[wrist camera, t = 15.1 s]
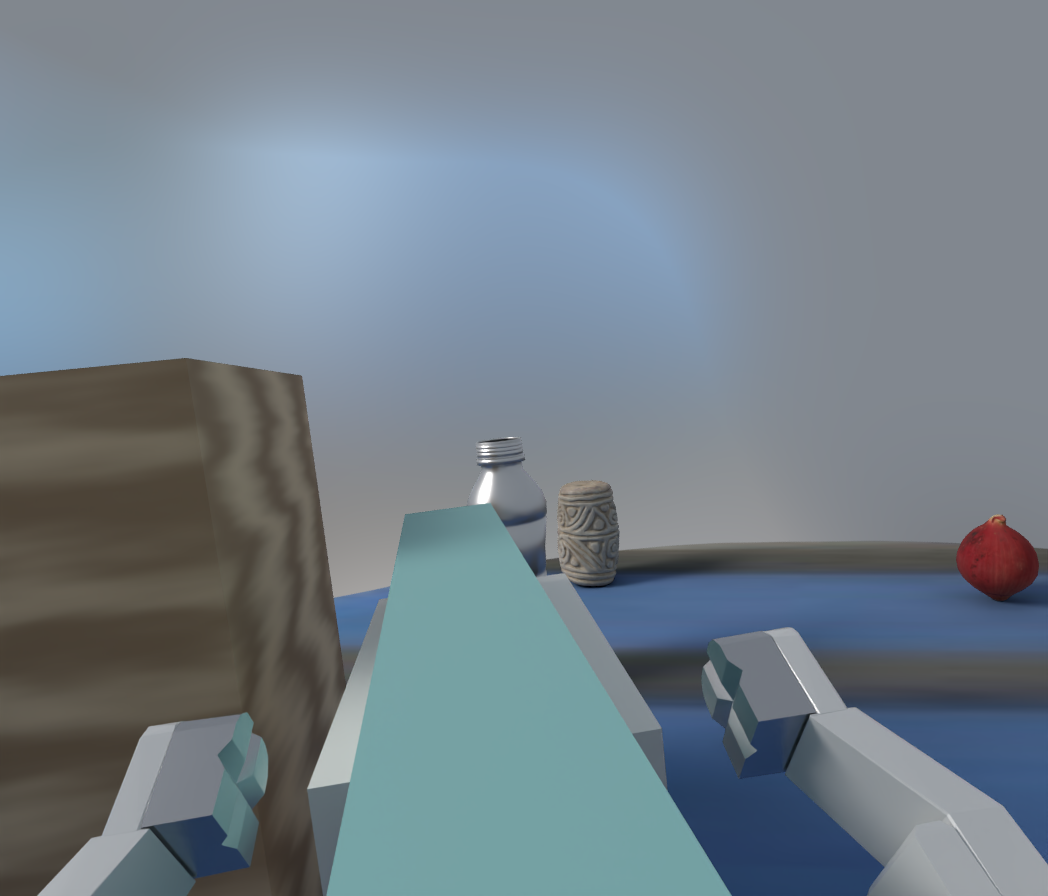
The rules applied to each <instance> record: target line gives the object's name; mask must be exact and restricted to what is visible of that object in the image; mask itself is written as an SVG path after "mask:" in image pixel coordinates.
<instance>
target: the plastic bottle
mask: <svg viewBox="0 0 1048 896" xmlns="http://www.w3.org/2000/svg"><path fill="white" fill-rule="evenodd" d="M476 451H477V460H476V461H477V465H479V466H481V474H480V476H479V478H478V479H477V481H476V483H475V485H474V487H473V488H472V491H471V493H470V495H469V498H468V502H467V506H471V505H478V504H486V503H491V505H492V506H493V508H494V510H495V511H496V513H497V515H498V516H499V518H500V519H501V521H502V523H503V524H504V526H505V528H506V529H507V531H508V532H509V534H510V536H511V537H512V539H513V541H514V542H515V544H516V545H517V547H518V549H519V550H520V552H521V554H522V555H523V557H524V558H525V560H526V562H527V563H528V565H529V567H530V568H531V570H532V572H533V573H534V575H535V576H536V577H542V576H547V573H546V569H545V567H546V554H545V538H546V513H547V508H546V499H545V497H544V494H543V492H542V490H541V489H540V487H539V486H538V485H537V483H536V482H535V481H534V479H533V478H532V477H531V476H530V475H529V474H528V473H527V472H526V471H525V470H524V469H523V466H522V461H524V460H525V455H524V454H523V449H522V440H521V437H507V438H498V439H489V440H483V441H479V442H476Z"/></svg>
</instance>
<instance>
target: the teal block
mask: <svg viewBox="0 0 1048 896" xmlns="http://www.w3.org/2000/svg"><path fill="white" fill-rule="evenodd" d="M326 896H731V894H730V892H729V891H728V889H727V888H726V886H725V884H724V883H723V881H722V879H721V878H720V876H719V875H718V873H717V871H716V870H715V868H714V866H713V865H712V863H711V861H710V860H709V858H708V857H707V855H706V853H705V852H704V850H703V848H702V847H701V845H700V844H699V842H698V840H697V839H696V837H695V835H694V834H693V832H692V831H691V829H690V827H689V826H688V824H687V822H686V821H685V819H684V818H683V816H682V814H681V813H680V811H679V809H678V808H677V806H676V804H675V803H674V801H673V800H672V798H671V796H670V795H669V793H668V791H667V790H666V788H665V787H664V785H663V783H662V782H661V780H660V778H659V777H658V775H657V774H656V772H655V770H654V769H653V767H652V765H651V764H650V762H649V760H648V759H647V757H646V756H645V754H644V752H643V751H642V749H641V747H640V746H639V744H638V743H637V741H636V739H635V738H634V736H633V734H632V733H631V731H630V730H629V728H628V726H627V725H626V723H625V721H624V720H623V718H622V717H621V715H620V713H619V712H618V710H617V708H616V707H615V705H614V703H613V702H612V700H611V699H610V697H609V695H608V694H607V692H606V690H605V689H604V687H603V686H602V684H601V682H600V681H599V679H598V677H597V676H596V674H595V673H594V671H593V669H592V668H591V666H590V664H589V663H588V661H587V659H586V658H585V656H584V655H583V653H582V651H581V650H580V648H579V646H578V645H577V643H576V642H575V640H574V638H573V637H572V635H571V633H570V632H569V630H568V629H567V627H566V625H565V624H564V622H563V620H562V619H561V617H560V616H559V614H558V612H557V611H556V609H555V607H554V606H553V604H552V602H551V601H550V599H549V598H548V596H547V594H546V593H545V591H544V589H543V588H542V586H541V585H540V583H539V581H538V580H537V578H536V576H535V575H534V573H533V572H532V570H531V568H530V567H529V565H528V563H527V562H526V560H525V558H524V557H523V555H522V554H521V552H520V550H519V549H518V547H517V545H516V544H515V542H514V541H513V539H512V537H511V536H510V534H509V532H508V531H507V529H506V528H505V526H504V524H503V523H502V521H501V519H500V518H499V516H498V515H497V513H496V511H495V510H494V508H493V506H492V505H491V503H486V504H478V505H471V506H464V507H457V508H449V509H442V510H434V511H427V512H419V513H412V514H405V518H404V523H403V527H402V533H401V537H400V542H399V547H398V552H397V557H396V562H395V566H394V572H393V576H392V581H391V585H390V590H389V595H388V600H387V605H386V610H385V614H384V619H383V624H382V629H381V634H380V639H379V643H378V648H377V653H376V658H375V663H374V668H373V672H372V677H371V682H370V687H369V692H368V697H367V701H366V706H365V711H364V716H363V721H362V726H361V730H360V735H359V740H358V745H357V750H356V755H355V759H354V764H353V769H352V774H351V779H350V784H349V788H348V793H347V798H346V803H345V808H344V813H343V817H342V822H341V827H340V832H339V837H338V842H337V847H336V851H335V856H334V861H333V866H332V871H331V876H330V880H329V885H328V890H327V895H326Z"/></svg>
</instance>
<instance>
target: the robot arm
mask: <svg viewBox="0 0 1048 896" xmlns="http://www.w3.org/2000/svg"><path fill="white" fill-rule="evenodd" d="M707 654H708V656H709V658H710V661H709V662H708V663H707V664H706V665H705V666H704V667H703V671H702V677H701V680H702V689H703V695H704V698H705V701H706V705H707V707H708V709H709V712H710V714H711V717H712V719H714V720H715V721H716V722H718V723H719V724H720V725H721V726H723V727H724V728H725V734H724V738H723V744H724V747H725V749H726V751H727V753H728V756H729V758H730V760H731V762H732V765H733V767H734V769H735V771H736V774H737V776H738V778H739V779H742V778H748V777H755V776H761V775H768V774H775V773H781V772H786V773H785V775H786V776H787V777H788V778H789V779H790V780H791V781H792V782H793V783H794V784H795V785H796V786H798V787H799V788H800V789H801V790H802V791H803V792H804V793H805V794H806V795H807V796H808V797H809V798H810V799H812V800H813V801H814V802H815V803H816V804H817V805H818V806H819V807H820V808H821V809H822V810H823V811H825V812H826V813H827V814H828V815H829V816H830V817H831V818H832V819H833V820H834V821H835V822H836V823H837V824H839V825H840V826H841V827H842V828H843V829H844V830H845V831H846V832H847V833H848V834H849V835H850V836H852V837H853V838H854V839H855V840H856V841H857V842H858V843H859V844H860V845H861V846H862V847H863V848H864V849H866V850H867V851H868V852H869V853H870V854H871V855H872V856H873V857H874V858H875V859H876V860H877V861H879V862H880V863H881V864H882V865H883V866H884V867H885V868H884V869H883V870H882V872H881V873H880V874H879V876H878V877H877V878H876V880H875V881H874V882H873V884H872V885H871V886H870V888H869V891H868V894H867V896H1048V864H1047V863H1046V862H1045V860H1044V859H1043V858H1042V856H1041V855H1040V854H1039V853H1038V851H1037V850H1036V849H1035V847H1034V846H1033V845H1032V843H1031V842H1030V841H1029V839H1028V838H1027V837H1026V835H1025V834H1024V833H1023V831H1022V830H1021V829H1020V828H1019V826H1018V825H1017V824H1016V822H1015V821H1014V820H1013V818H1012V817H1011V816H1010V814H1009V813H1008V812H1007V810H1006V809H1005V808H1004V807H1003V806H1002V805H1001V804H999V803H998V802H996V801H995V800H993V799H992V798H990V797H989V796H987V795H986V794H984V793H983V792H981V791H980V790H978V789H977V788H975V787H974V786H972V785H971V784H969V783H968V782H966V781H965V780H963V779H962V778H960V777H959V776H957V775H956V774H954V773H953V772H951V771H950V770H948V769H947V768H945V767H944V766H942V765H941V764H939V763H938V762H936V761H935V760H934V759H932V758H931V757H929V756H928V755H926V754H925V753H923V752H922V751H920V750H919V749H917V748H916V747H914V746H913V745H911V744H910V743H908V742H907V741H905V740H904V739H902V738H901V737H899V736H898V735H896V734H895V733H893V732H892V731H890V730H889V729H887V728H886V727H884V726H883V725H881V724H880V723H878V722H877V721H875V720H874V719H872V718H871V717H869V716H868V715H866V714H865V713H863V712H862V711H860V710H859V709H857V708H856V707H854V708H847V707H846V705H845V704H844V702H843V701H842V699H841V698H840V696H839V695H838V693H837V691H836V690H835V688H834V687H833V685H832V684H831V682H830V681H829V679H828V678H827V676H826V675H825V673H824V671H823V670H822V668H821V667H820V665H819V664H818V662H817V661H816V659H815V658H814V656H813V655H812V653H811V651H810V650H809V648H808V647H807V645H806V644H805V642H804V641H803V639H802V638H801V636H800V635H799V633H798V632H797V631H796V630H794V629H793V628H788V627H786V628H781V629H775V630H769V631H758V632H753V633H747V634H741V635H735V636H730V637H724V638H718V639H713V640H712V641H710V642H709V644H708V648H707ZM253 724H254V722H253V721H252V719H251V717H250V716H249V714H248V713H247V712H244V713H238V714H231V715H224V716H217V717H211V718H204V719H197V720H191V721H180V722H174V723H168V724H162V725H155V726H149V727H148V728H147V730H146V731H145V732H144V734H143V735H142V736H141V738H140V739H139V742H138V744H137V747H136V749H135V752H134V754H133V757H132V760H131V762H130V765H129V767H128V770H127V772H126V775H125V777H124V780H123V783H122V785H121V788H120V790H119V793H118V795H117V798H116V800H115V803H114V806H113V808H112V811H111V813H110V816H109V818H108V821H107V823H106V826H105V828H104V831H103V834H102V836H98V837H94V838H91V839H90V840H89V841H88V842H87V843H86V844H85V845H84V846H83V848H82V849H81V850H80V851H79V852H78V853H77V854H76V855H75V856H74V857H73V858H72V859H71V860H70V861H69V862H68V863H67V865H66V866H65V867H64V868H63V869H62V870H61V871H60V872H59V873H58V874H57V875H56V876H55V877H54V878H53V879H52V881H51V882H50V883H49V884H48V885H47V886H46V887H45V888H44V889H43V890H42V891H41V892H40V893H39V894H38V895H37V896H187V894H188V893H189V891H190V890H191V888H192V887H193V885H194V884H195V882H196V881H195V880H194V879H195V878H200V877H205V876H209V875H214V874H219V873H224V872H229V871H233V870H238V869H243V868H248V867H250V865H251V860H252V855H253V850H254V845H255V840H256V835H257V830H258V825H259V822H258V820H257V818H256V816H255V814H254V812H253V810H252V809H253V808H254V807H255V805H256V804H257V803H258V802H259V800H260V799H261V798H262V797H263V795H264V794H265V789H266V783H267V778H268V754H267V749H266V745H265V743H264V741H263V739H262V737H260V736H258V735H256V734H253V733H252V728H253Z"/></svg>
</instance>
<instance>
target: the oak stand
mask: <svg viewBox="0 0 1048 896" xmlns="http://www.w3.org/2000/svg"><path fill="white" fill-rule="evenodd" d="M318 493H319V492H318V485H317V479H316V472H315V465H314V457H313V451H312V443H311V436H310V429H309V422H308V415H307V408H306V401H305V394H304V387H303V380H302V376H301V375H294V374H287V373H280V372H274V371H268V370H261V369H254V368H248V367H241V366H235V365H228V364H221V363H215V362H208V361H201V360H194V359H189V358H182V359H172V360H161V361H151V362H142V363H141V362H140V363H130V364H120V365H110V366H100V367H89V368H79V369H69V370H58V371H48V372H37V373H27V374H17V375H6V376H0V896H37V895H38V894H39V893H40V892H41V891H42V890H43V889H44V888H45V887H46V886H47V885H48V884H49V883H50V882H51V881H52V879H53V878H54V877H55V876H56V875H57V874H58V873H59V872H60V871H61V870H62V869H63V868H64V867H65V866H66V865H67V863H68V862H69V861H70V860H71V859H72V858H73V857H74V856H75V855H76V854H77V853H78V852H79V851H80V850H81V849H82V848H83V846H84V845H85V844H86V843H87V842H88V841H89V840H90V839H91V838H94V837H98V836H102V834H103V831H104V828H105V826H106V823H107V821H108V818H109V816H110V813H111V811H112V808H113V806H114V803H115V800H116V798H117V795H118V793H119V790H120V788H121V785H122V783H123V780H124V777H125V775H126V772H127V770H128V767H129V765H130V762H131V760H132V757H133V754H134V752H135V749H136V747H137V744H138V742H139V739H140V738H141V736H142V735H143V734H144V732H145V731H146V730H147V728H148V727H149V726H155V725H162V724H168V723H174V722H180V721H191V720H197V719H204V718H211V717H217V716H224V715H231V714H238V713H244V712H247V713H248V714H249V716H250V717H251V719H252V721H253V722H254V724H253V728H252V733H253V734H256V735H258V736H260V737H262V739H263V741H264V743H265V745H266V749H267V754H268V778H267V783H266V789H265V794H264V795H263V797H262V798H261V799H260V800H259V802H258V803H257V804H256V805H255V807H254V808H253V809H252V810H253V812H254V814H255V816H256V818H257V820H258V822H259V825H258V830H257V835H256V840H255V845H254V850H253V855H252V860H251V865H250V867H248V868H243V869H238V870H233V871H229V872H224V873H219V874H214V875H209V876H205V877H200V878H195V879H194V880H195V881H196V882H195V884H194V885H193V887H192V888H191V890H190V891H189V893H188V894H187V896H323V892H322V886H321V879H320V872H319V866H318V859H317V852H316V846H315V839H314V832H313V826H312V819H311V813H310V806H309V799H308V793H307V788H308V785H309V783H310V780H311V777H312V775H313V772H314V770H315V767H316V764H317V762H318V759H319V757H320V754H321V751H322V749H323V746H324V743H325V741H326V738H327V736H328V733H329V730H330V728H331V725H332V722H333V720H334V717H335V715H336V712H337V709H338V707H339V704H340V701H341V699H342V696H343V694H344V691H345V688H346V683H345V676H344V669H343V662H342V654H341V647H340V640H339V633H338V626H337V619H336V612H335V605H334V598H333V591H332V584H331V577H330V570H329V563H328V556H327V549H326V542H325V535H324V528H323V521H322V514H321V507H320V499H319V494H318Z"/></svg>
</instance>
